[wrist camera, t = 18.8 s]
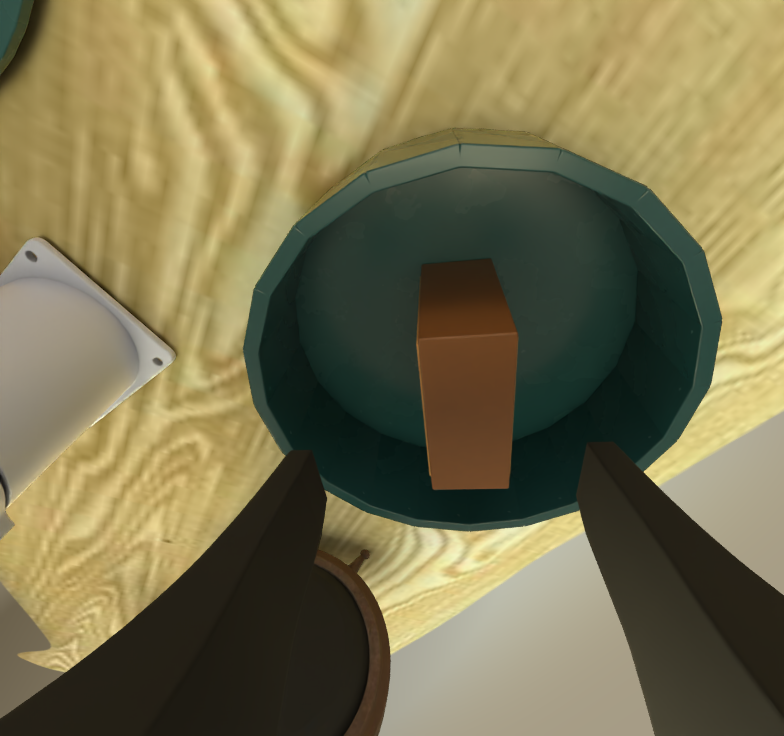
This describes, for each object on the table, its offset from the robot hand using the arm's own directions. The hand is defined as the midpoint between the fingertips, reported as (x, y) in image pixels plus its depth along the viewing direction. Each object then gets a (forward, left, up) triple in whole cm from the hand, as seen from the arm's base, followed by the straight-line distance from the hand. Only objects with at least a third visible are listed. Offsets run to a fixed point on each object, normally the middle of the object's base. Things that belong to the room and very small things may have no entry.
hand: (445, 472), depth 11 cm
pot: (0, -1, -10) cm, 10 cm away
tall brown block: (0, -1, -10) cm, 10 cm away
